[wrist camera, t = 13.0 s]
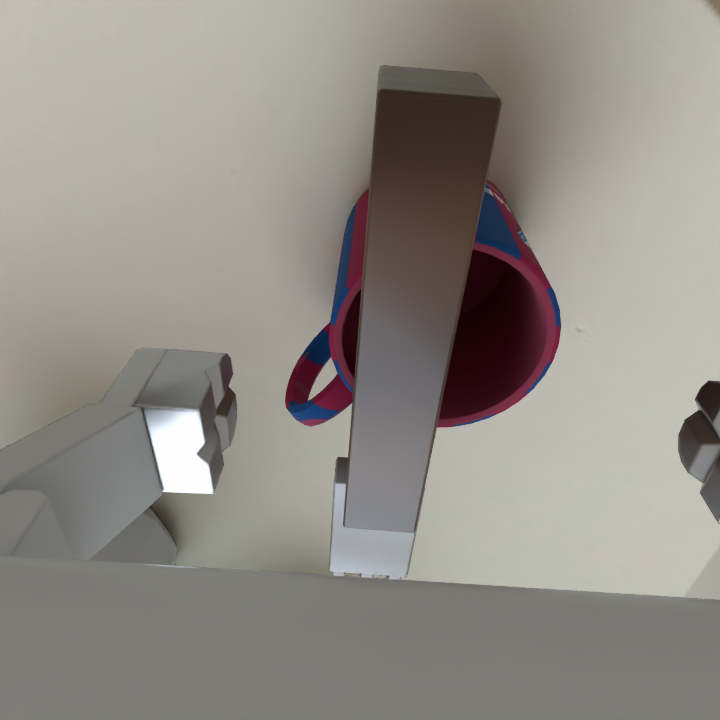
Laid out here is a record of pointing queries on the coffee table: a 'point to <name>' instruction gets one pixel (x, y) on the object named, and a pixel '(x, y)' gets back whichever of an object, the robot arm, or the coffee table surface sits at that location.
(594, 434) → the coffee table surface
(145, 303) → the coffee table surface
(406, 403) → the fork
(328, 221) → the coffee table surface
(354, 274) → the cup
